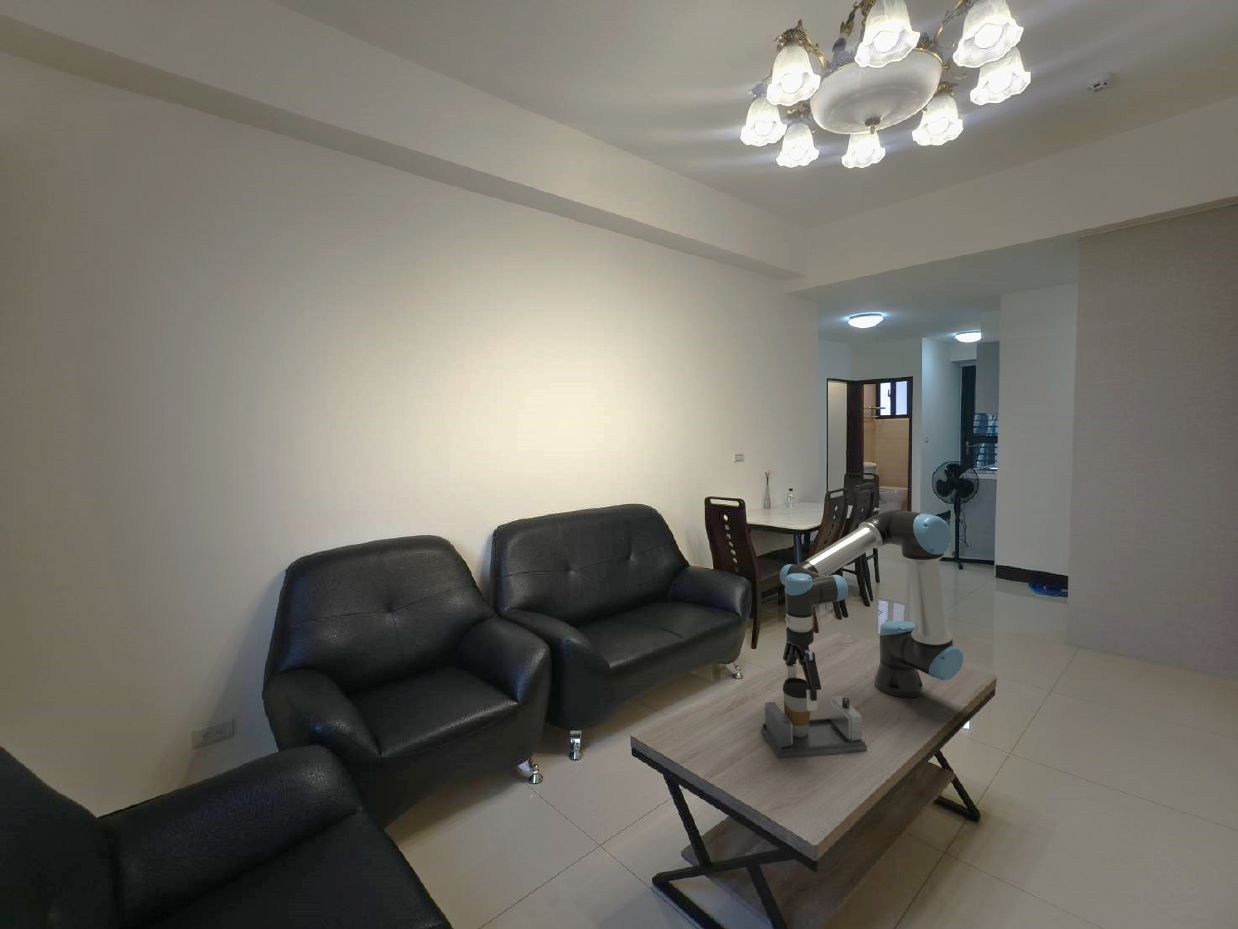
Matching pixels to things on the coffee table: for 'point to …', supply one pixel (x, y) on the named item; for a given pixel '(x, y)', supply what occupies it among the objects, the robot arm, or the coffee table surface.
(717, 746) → the coffee table surface
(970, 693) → the coffee table surface
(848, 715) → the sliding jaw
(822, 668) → the coffee table surface
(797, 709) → the coffee cup
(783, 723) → the base
